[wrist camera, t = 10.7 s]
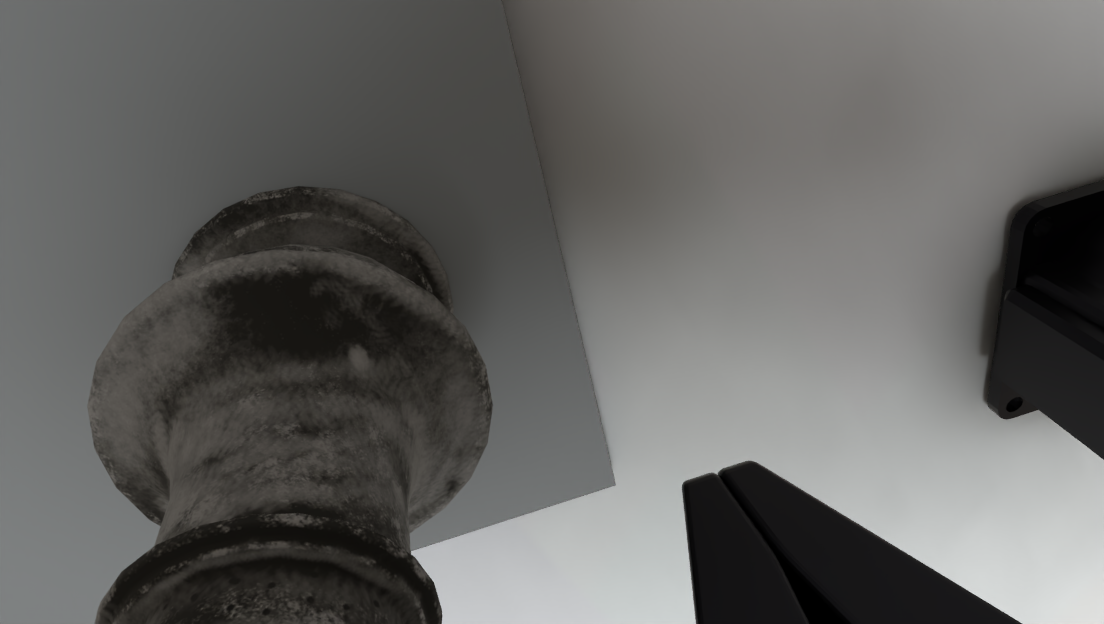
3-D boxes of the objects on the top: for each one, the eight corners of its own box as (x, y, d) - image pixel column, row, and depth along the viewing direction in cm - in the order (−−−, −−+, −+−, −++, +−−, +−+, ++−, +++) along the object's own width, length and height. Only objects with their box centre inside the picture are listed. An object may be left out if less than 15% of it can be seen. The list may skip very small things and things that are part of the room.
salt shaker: (290, 477, 16) (151, 1499, 6) (74, 280, 13) (-1044, 1723, 3) (519, 343, 16) (806, 1185, 5) (352, 106, 12) (280, 1023, 2)
